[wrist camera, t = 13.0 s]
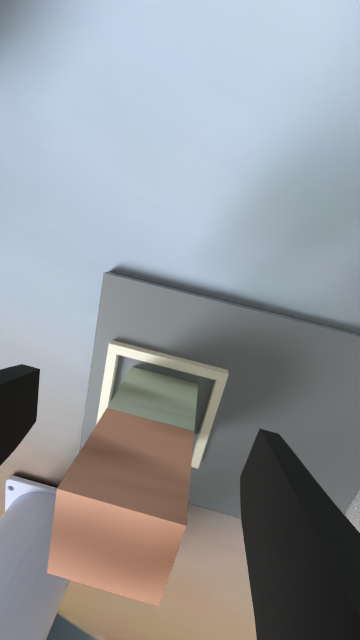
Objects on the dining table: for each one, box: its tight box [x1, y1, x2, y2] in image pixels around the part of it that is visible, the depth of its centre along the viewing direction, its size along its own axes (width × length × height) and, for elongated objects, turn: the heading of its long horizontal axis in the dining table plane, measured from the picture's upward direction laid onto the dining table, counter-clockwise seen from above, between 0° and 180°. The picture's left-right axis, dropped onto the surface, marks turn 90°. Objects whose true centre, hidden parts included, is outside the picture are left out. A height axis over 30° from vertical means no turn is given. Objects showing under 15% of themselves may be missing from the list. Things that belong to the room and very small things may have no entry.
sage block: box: [107, 367, 198, 432], centre depth 16 cm, size 4×4×4 cm
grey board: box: [79, 272, 360, 518], centre depth 18 cm, size 16×20×1 cm
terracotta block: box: [47, 408, 194, 606], centre depth 12 cm, size 4×4×4 cm
